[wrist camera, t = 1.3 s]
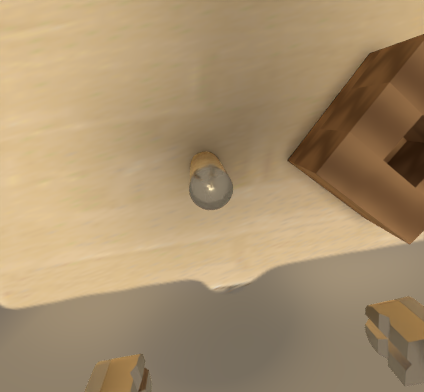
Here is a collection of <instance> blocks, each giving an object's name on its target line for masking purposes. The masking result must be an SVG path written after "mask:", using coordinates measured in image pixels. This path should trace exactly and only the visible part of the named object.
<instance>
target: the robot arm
mask: <svg viewBox="0 0 424 392" xmlns="http://www.w3.org/2000/svg"><path fill="white" fill-rule="evenodd" d="M365 314H366V316H367V317H368V318H369V319H368V321H367V322H366V324H365V332H366V335H367V338H368V340H369V342H370V344H371V345H372V347H373V348H374V349H375V351H376V352H377V353H378V354H379V355H381V356H383V357H385V358H387V360H388V366H389V368H390V369H391V370H392V371H393V372H394V374H395V375H396V376H397V378H398V379H399V380H400V381H401V382H402V384H403V385H404V386H410V385H416V384H421V383H424V306H423V305H421V304H420V303H419V302H418V301H416V300H415V299H413V298H411V297H409V296H408V297H403V298H399V299H395V300H389V301H385V302H380V303H376V304H371V305H367V307H366V308H365ZM144 366H145V359H144V356H143V354H136V355H131V356H126V357H120V358H114V359H110V360H105V361H100V362H98V363H97V364H96V365H95V367H94V369H93V372H92V374H91V377H90V379H89V381H88V384H87V386H86V389H85V392H152V382H151V376H150V373H149V370H147V369H146V368H144Z"/></svg>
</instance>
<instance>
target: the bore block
mask: <svg viewBox="0 0 424 392" xmlns="http://www.w3.org/2000/svg"><path fill="white" fill-rule="evenodd" d="M288 161H289V162H290V163H292V164H293V165H294V166H296V167H297V168H298V169H300V170H301V171H302V172H304V173H305V174H306V175H308V176H309V177H310V178H312V179H313V180H314V181H316V182H317V183H318V184H320V185H321V186H322V187H324V188H325V189H326V190H328V191H329V192H331V193H332V194H333V195H335V196H336V197H337V198H339V199H340V200H341V201H343V202H344V203H345V204H347V205H348V206H349V207H351V208H352V209H353V210H355V211H356V212H357V213H359V214H360V215H361V216H363V217H364V218H365V219H367V220H369V221H371V222H372V223H374V224H376V225H377V226H379V227H381V228H382V229H384V230H386V231H388V232H389V233H391V234H393V235H394V236H396V237H398V238H400V239H401V240H403V241H405V242H406V243H408V244H411V243H412V242H413V241H414V240H415V239H416V238H417V237H418V236H419V235H420V234H421V233H422V232H423V231H424V34H423V35H420V36H417V37H414V38H412V39H409V40H406V41H403V42H400V43H398V44H395V45H392V46H389V47H386V48H384V49H381V50H378V51H375V52H372V53H370V54H369V55H368V57H367V58H366V59H365V60H364V62H363V63H362V64H361V66H360V67H359V68H358V70H357V71H356V72H355V73H354V75H353V76H352V77H351V79H350V80H349V81H348V83H347V84H346V85H345V87H344V88H343V89H342V90H341V92H340V93H339V94H338V96H337V97H336V98H335V100H334V101H333V102H332V103H331V105H330V106H329V107H328V109H327V110H326V111H325V113H324V114H323V115H322V116H321V118H320V119H319V120H318V122H317V123H316V124H315V126H314V127H313V128H312V129H311V131H310V132H309V133H308V135H307V136H306V137H305V139H304V140H303V141H302V143H301V144H300V145H299V146H298V148H297V149H296V150H295V152H294V153H293V154H292V156H291V157H290V158H289V159H288Z"/></svg>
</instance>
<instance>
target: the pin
mask: <svg viewBox="0 0 424 392" xmlns="http://www.w3.org/2000/svg"><path fill="white" fill-rule="evenodd" d="M189 192H190V196H191V198H192V200H193V202H194V203H195V204H196V205H197V206H199V207H201V208H203V209H206V210H215V209H219V208H221V207H223V206H224V205H225V204H226V203H227V202H228V201H229V200H230V198H231V196H232V192H233V185H232V182H231V179H230V178H229V176H228V174H227V173H226V171H225V169H224V168H223V166H222V165H221V163H220V161H219V160H218V158H217V157H216V156H215V155H214V154H213V153H211V152H206V151H204V152H200V153H198V154H196V155H195V156H194V157H193V159H192V161H191V164H190V186H189Z"/></svg>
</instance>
